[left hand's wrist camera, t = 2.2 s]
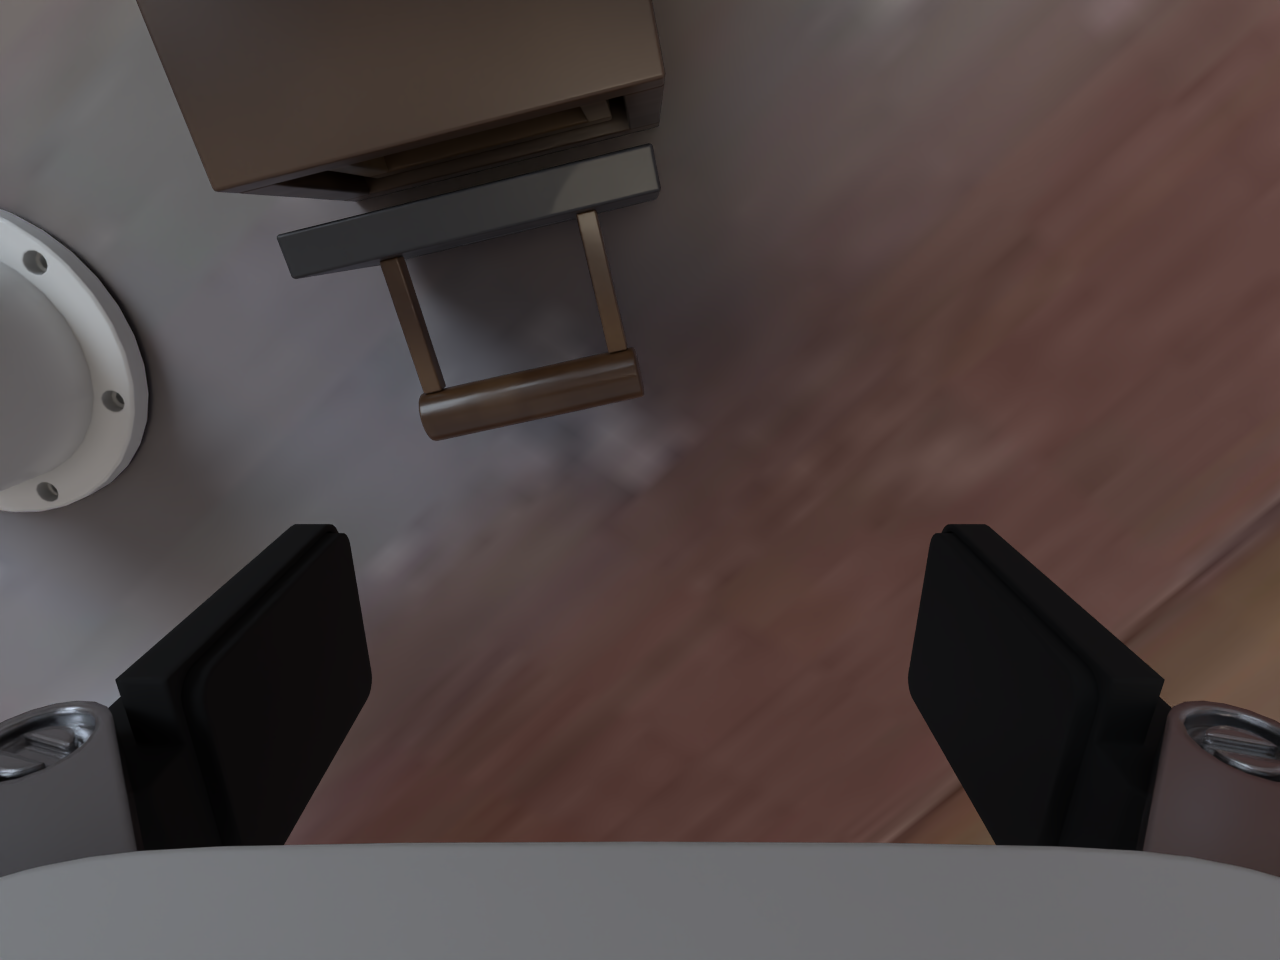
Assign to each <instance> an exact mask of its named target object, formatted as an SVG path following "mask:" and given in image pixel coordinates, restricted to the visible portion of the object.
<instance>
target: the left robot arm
mask: <svg viewBox="0 0 1280 960" xmlns="http://www.w3.org/2000/svg"><path fill="white" fill-rule="evenodd" d="M148 394H149V393H148V387H147V380H146V373H145V366H144V363H143V360H142V357H141V354H140V351H139V348H138V345H137V342H136V339H135V336H134V334H133V332H132V330H131V328H130V326H129V324H128V323H127V321H126V319H125V317H124V315H123V313H122V311H121V309H120V308H119V306H118V304H117V303H116V302H115V300H114V299H113V298H112V296H111V295H110V294H109V292H108V291H107V290H106V288H105V287H104V286H103V284H102V283H101V282H100V280H99V279H98V278H97V277H96V276H95V274H94V273H93V272H92V271H91V270H90V269H89V268H88V267H87V266H86V265H85V264H84V263H83V262H82V261H81V260H80V259H79V258H78V257H77V256H76V255H75V254H74V253H73V252H71V251H70V250H69V249H67V248H66V247H65V246H63V245H62V244H61V243H59V242H58V241H57V240H55V239H54V238H53V237H51V236H50V235H49V234H47V233H46V232H45V231H43V230H42V229H40V228H38V227H37V226H35V225H33V224H31V223H29V222H27V221H25V220H24V219H22V218H20V217H18V216H16V215H14V214H12V213H11V212H8V211H5V210H2V209H0V510H1V511H8V512H41V511H45V510H50V509H54V508H59V507H63V506H67V505H69V504H71V503H74V502H76V501H78V500H80V499H82V498H85V497H87V496H89V495H91V494H93V493H95V492H96V491H98V490H100V489H101V488H103V487H104V486H106V485H108V484H109V483H111V482H112V481H113V480H114V479H115V478H116V477H117V476H118V475H119V474H120V473H121V472H122V471H123V470H124V469H125V468H126V467H127V466H128V465H129V463H130V461H131V460H132V458H133V456H134V454H135V453H136V451H137V449H138V447H139V446H140V443H141V440H142V436H143V433H144V429H145V426H146V422H147V413H148ZM116 683H117V686H118V689H119V692H120V696H121V697H120V698H119V699H118V700H117V701H115V702H114V703H113V704H112V705H111V706H110V707H109V708H108V707H107V706H104V705H102V704H99V703H97V702H90V701H72V702H64V703H56V704H52V705H48V706H45V707H41V708H37V709H34V710H30V711H28V712H25V713H23V714H20V715H18V716H15V717H12V718H10V719H7V720H5V721H3V722H1V723H0V960H1280V723H1279V722H1277V721H1275V720H1273V719H1270V718H1268V717H1265V716H1262V715H1260V714H1257V713H1255V712H1252V711H1250V710H1246V709H1243V708H1239V707H1235V706H1232V705H1228V704H1224V703H1216V702H1208V701H1190V702H1183V703H1181V704H1178V705H1176V706H1173V707H1172V708H1171V707H1170V706H1169V705H1168V704H1167V703H1166V702H1165V701H1163V700H1162V699H1161V698H1160V697H1159V696H1160V692H1161V689H1162V686H1163V683H1164V679H1163V678H1162V677H1161V676H1160V675H1159V674H1158V673H1156V672H1155V671H1154V670H1153V669H1152V668H1151V667H1150V666H1148V665H1147V664H1146V663H1145V662H1144V661H1143V660H1142V659H1140V658H1139V657H1138V656H1137V655H1136V654H1135V653H1133V652H1132V651H1131V650H1130V649H1129V648H1128V647H1127V646H1125V645H1124V644H1123V643H1122V642H1121V641H1120V640H1119V639H1117V638H1116V637H1115V636H1114V635H1113V634H1112V633H1111V632H1109V631H1108V630H1107V629H1106V628H1105V627H1104V626H1103V625H1101V624H1100V623H1099V622H1098V621H1097V620H1096V619H1095V618H1093V617H1092V616H1091V615H1090V614H1089V613H1088V612H1087V611H1085V610H1084V609H1083V608H1082V607H1081V606H1080V605H1078V604H1077V603H1076V602H1075V601H1074V600H1073V599H1072V598H1070V597H1069V596H1068V595H1067V594H1066V593H1065V592H1064V591H1062V590H1061V589H1060V588H1059V587H1058V586H1057V585H1056V584H1054V583H1053V582H1052V581H1051V580H1050V579H1049V578H1048V577H1046V576H1045V575H1044V574H1043V573H1042V572H1041V571H1040V570H1038V569H1037V568H1036V567H1035V566H1034V565H1033V564H1031V563H1030V562H1029V561H1028V560H1027V559H1026V558H1025V557H1023V556H1022V555H1021V554H1020V553H1019V552H1018V551H1017V550H1015V549H1014V548H1013V547H1012V546H1011V545H1010V544H1009V543H1007V542H1006V541H1005V540H1004V539H1003V538H1002V537H1001V536H999V535H998V534H997V533H996V532H995V531H994V530H993V529H991V528H990V527H989V526H987V525H985V524H949V525H947V526H946V527H944V529H943V531H942V533H935V534H934V535H933V537H932V539H931V542H930V547H929V553H928V559H927V565H926V571H925V577H924V583H923V589H922V595H921V601H920V607H919V613H918V619H917V625H916V631H915V637H914V643H913V649H912V655H911V661H910V667H909V674H908V684H909V690H910V694H911V696H912V698H913V700H914V702H915V704H916V706H917V707H918V709H919V711H920V713H921V714H922V716H923V718H924V720H925V721H926V723H927V725H928V727H929V728H930V730H931V732H932V734H933V735H934V737H935V739H936V741H937V742H938V744H939V746H940V748H941V749H942V751H943V753H944V755H945V756H946V758H947V760H948V762H949V763H950V765H951V767H952V769H953V770H954V772H955V774H956V776H957V777H958V779H959V781H960V783H961V784H962V786H963V788H964V790H965V791H966V793H967V795H968V797H969V798H970V800H971V802H972V804H973V805H974V807H975V809H976V811H977V812H978V814H979V816H980V818H981V819H982V821H983V823H984V825H985V826H986V828H987V830H988V832H989V833H990V835H991V837H992V839H993V840H994V842H995V844H996V845H958V844H907V843H777V842H503V843H373V844H322V845H284V844H285V842H286V840H287V839H288V837H289V835H290V833H291V832H292V830H293V828H294V826H295V825H296V823H297V821H298V819H299V818H300V816H301V814H302V812H303V811H304V809H305V807H306V805H307V804H308V802H309V800H310V798H311V797H312V795H313V793H314V791H315V790H316V788H317V786H318V784H319V783H320V781H321V779H322V777H323V776H324V774H325V772H326V770H327V769H328V767H329V765H330V763H331V762H332V760H333V758H334V756H335V755H336V753H337V751H338V749H339V748H340V746H341V744H342V742H343V741H344V739H345V737H346V735H347V734H348V732H349V730H350V728H351V727H352V725H353V723H354V721H355V720H356V718H357V716H358V714H359V713H360V711H361V709H362V707H363V706H364V704H365V702H366V700H367V698H368V696H369V694H370V690H371V684H372V674H371V667H370V661H369V655H368V649H367V643H366V637H365V631H364V625H363V619H362V613H361V607H360V601H359V595H358V589H357V583H356V577H355V571H354V565H353V559H352V553H351V547H350V542H349V539H348V537H347V535H346V534H345V533H338V531H337V529H336V527H334V526H333V525H331V524H295V525H293V526H291V527H290V528H289V529H287V530H286V531H285V532H284V533H283V534H282V535H281V536H279V537H278V538H277V539H276V540H275V541H274V542H273V543H271V544H270V545H269V546H268V547H267V548H266V549H265V550H263V551H262V552H261V553H260V554H259V555H258V556H257V557H255V558H254V559H253V560H252V561H251V562H250V563H249V564H247V565H246V566H245V567H244V568H243V569H242V570H240V571H239V572H238V573H237V574H236V575H235V576H234V577H232V578H231V579H230V580H229V581H228V582H227V583H226V584H224V585H223V586H222V587H221V588H220V589H219V590H218V591H216V592H215V593H214V594H213V595H212V596H211V597H210V598H208V599H207V600H206V601H205V602H204V603H203V604H202V605H200V606H199V607H198V608H197V609H196V610H195V611H193V612H192V613H191V614H190V615H189V616H188V617H187V618H185V619H184V620H183V621H182V622H181V623H180V624H179V625H177V626H176V627H175V628H174V629H173V630H172V631H171V632H169V633H168V634H167V635H166V636H165V637H164V638H163V639H161V640H160V641H159V642H158V643H157V644H156V645H155V646H153V647H152V648H151V649H150V650H149V651H148V652H147V653H145V654H144V655H143V656H142V657H141V658H140V659H138V660H137V661H136V662H135V663H134V664H133V665H132V666H130V667H129V668H128V669H127V670H126V671H125V672H124V673H122V674H121V675H120V676H119V677H118V678H117V679H116Z"/></svg>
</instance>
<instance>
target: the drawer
mask: <svg viewBox="0 0 1280 960" xmlns="http://www.w3.org/2000/svg"><path fill="white" fill-rule="evenodd" d="M611 119H612V114H611V110H610V105H609V100H608V99H607V100H603V101H599V102H596V103H592V104H588V105H584V106H580V107H576V108H572V109H568V110H564V111H560V112H556V113H552V114H548V115H544V116H540V117H536V118H532V119H528V120H525V121H521V122H517V123H513V124H509V125H505V126H501V127H497V128H493V129H489V130H485V131H481V132H477V133H473V134H469V135H465V136H461V137H457V138H453V139H450V140H446V141H442V142H438V143H434V144H430V145H426V146H422V147H418V148H414V149H410V150H406V151H402V152H398V153H394V154H390V155H386V156H382V157H379V158H375V159H371V160H367V161H363V162H359V163H355V164H351V165H347V166H343V167H339V168H335V169H331V170H329V171H335V172H341V173H348V174H354V175H360V176H366V177H372V178H381V177H385V176H389V175H393V174H397V173H401V172H405V171H409V170H413V169H417V168H421V167H425V166H429V165H433V164H437V163H441V162H445V161H449V160H453V159H457V158H461V157H465V156H469V155H473V154H477V153H481V152H485V151H489V150H493V149H497V148H501V147H505V146H509V145H513V144H517V143H521V142H525V141H529V140H533V139H537V138H541V137H545V136H549V135H553V134H557V133H561V132H565V131H569V130H573V129H577V128H581V127H585V126H589V125H593V124H597V123H601V122H605V121H609V120H611ZM660 188H661V187H660V182H659V177H658V171H657V166H656V161H655V156H654V151H653V146H652V145H651V144H649V143H648V144H644V145H640V146H636V147H632V148H628V149H624V150H620V151H616V152H612V153H608V154H604V155H600V156H596V157H592V158H588V159H584V160H579V161H575V162H571V163H567V164H563V165H559V166H555V167H551V168H547V169H543V170H539V171H535V172H531V173H527V174H523V175H519V176H515V177H511V178H506V179H502V180H498V181H494V182H490V183H486V184H482V185H478V186H474V187H470V188H466V189H462V190H458V191H454V192H450V193H446V194H442V195H438V196H433V197H429V198H425V199H421V200H417V201H413V202H409V203H405V204H401V205H397V206H393V207H389V208H385V209H381V210H377V211H373V212H369V213H365V214H361V215H356V216H352V217H348V218H344V219H340V220H336V221H332V222H328V223H324V224H320V225H316V226H312V227H308V228H304V229H300V230H296V231H292V232H288V233H283V234H279V235H278V236H277V240H278V242H279V245H280V247H281V250H282V253H283V255H284V258H285V260H286V263H287V266H288V268H289V271H290V273H291V276H292V277H293V278H294V279H299V278H305V277H311V276H317V275H323V274H329V273H335V272H341V271H347V270H353V269H359V268H365V267H371V266H377V265H381V268H382V271H383V274H384V277H385V280H386V283H387V286H388V288H389V291H390V294H391V297H392V300H393V303H394V306H395V309H396V312H397V315H398V318H399V321H400V324H401V327H402V330H403V333H404V336H405V338H406V341H407V344H408V347H409V350H410V353H411V356H412V359H413V362H414V365H415V368H416V371H417V374H418V377H419V380H420V383H421V386H422V389H423V391H424V393H423V394H422V395H421V396H420V399H419V412H420V418H421V421H422V424H423V427H424V429H425V431H426V433H427V435H428V436H429V437H430V438H431V439H432V440H434V441H439V440H444V439H448V438H453V437H458V436H462V435H467V434H472V433H476V432H481V431H486V430H490V429H495V428H500V427H504V426H509V425H514V424H518V423H523V422H528V421H532V420H537V419H542V418H546V417H551V416H555V415H560V414H565V413H569V412H574V411H579V410H583V409H588V408H593V407H597V406H602V405H607V404H611V403H616V402H621V401H625V400H630V399H635V398H639V397H642V396H644V387H643V381H642V376H641V371H640V367H639V362H638V358H637V355H636V351H635V349H634V347H629V348H627V341H626V336H625V332H624V328H623V323H622V319H621V314H620V310H619V306H618V301H617V297H616V292H615V288H614V284H613V279H612V275H611V270H610V266H609V262H608V257H607V253H606V248H605V244H604V240H603V235H602V231H601V226H600V222H599V218H598V213H601V212H605V211H609V210H613V209H617V208H621V207H626V206H630V205H634V204H638V203H642V202H647V201H651V200H655V199H656V198H657V196H658V194H659V192H660ZM576 218H577V222H578V226H579V230H580V234H581V238H582V243H583V247H584V251H585V255H586V259H587V264H588V268H589V272H590V276H591V281H592V285H593V289H594V293H595V297H596V302H597V306H598V310H599V314H600V318H601V323H602V327H603V331H604V335H605V339H606V344H607V348H608V352H606V353H601V354H597V355H592V356H588V357H583V358H579V359H574V360H570V361H565V362H561V363H556V364H552V365H547V366H543V367H538V368H534V369H529V370H525V371H520V372H516V373H511V374H507V375H502V376H498V377H493V378H489V379H484V380H480V381H475V382H471V383H466V384H462V385H457V386H453V387H448V388H444V387H446V385H445V382H444V379H443V376H442V372H441V369H440V366H439V363H438V360H437V357H436V354H435V351H434V348H433V345H432V342H431V339H430V336H429V333H428V330H427V327H426V324H425V320H424V317H423V314H422V311H421V308H420V305H419V302H418V299H417V296H416V293H415V290H414V287H413V284H412V281H411V278H410V275H409V272H408V269H407V265H406V262H405V259H408V258H413V257H417V256H421V255H425V254H429V253H433V252H438V251H442V250H446V249H450V248H454V247H459V246H463V245H467V244H471V243H475V242H479V241H484V240H488V239H492V238H496V237H500V236H504V235H509V234H513V233H517V232H521V231H525V230H530V229H534V228H538V227H542V226H546V225H550V224H555V223H559V222H563V221H567V220H571V219H576ZM443 388H444V389H443Z"/></svg>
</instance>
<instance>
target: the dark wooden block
mask: <svg viewBox="0 0 1280 960" xmlns="http://www.w3.org/2000/svg"><path fill="white" fill-rule="evenodd" d="M136 1H137V4H138V6H139V9H140V11H141V14H142V16H143V18H144V21H145V23H146V26H147V28H148V31H149V33H150V36H151V38H152V41H153V43H154V45H155V48H156V50H157V53H158V55H159V58H160V60H161V63H162V65H163V68H164V70H165V72H166V75H167V77H168V80H169V82H170V85H171V87H172V90H173V92H174V95H175V97H176V99H177V102H178V104H179V107H180V109H181V112H182V114H183V117H184V119H185V122H186V124H187V126H188V129H189V131H190V134H191V136H192V139H193V141H194V144H195V146H196V149H197V151H198V154H199V156H200V158H201V161H202V163H203V166H204V168H205V171H206V173H207V176H208V178H209V181H210V183H211V185H212V188H213V189H214V191H217V192H228V193H241V194H256V195H271V196H285V197H300V198H315V199H329V200H344V201H360V200H364V199H368V198H372V197H376V196H380V195H384V194H388V193H392V192H396V191H400V190H404V189H408V188H412V187H416V186H420V185H424V184H428V183H432V182H436V181H440V180H444V179H448V178H452V177H456V176H460V175H464V174H468V173H472V172H476V171H480V170H484V169H489V168H493V167H497V166H501V165H505V164H509V163H513V162H517V161H521V160H525V159H529V158H533V157H537V156H541V155H545V154H549V153H553V152H557V151H561V150H565V149H569V148H573V147H577V146H581V145H585V144H589V143H593V142H597V141H601V140H605V139H609V138H613V137H617V136H621V135H625V134H629V133H633V132H637V131H641V130H645V129H650V128H654V127H657V126H659V118H660V111H661V104H662V96H663V89H664V79H665V69H664V64H663V58H662V53H661V47H660V42H659V36H658V31H657V25H656V20H655V14H654V9H653V3H652V0H136ZM607 99H608V100H609V105H610V110H611V114H612V119H611V120H609V121H605V122H601V123H597V124H593V125H589V126H585V127H581V128H577V129H573V130H569V131H565V132H561V133H557V134H553V135H549V136H545V137H541V138H537V139H533V140H529V141H525V142H521V143H517V144H513V145H509V146H505V147H501V148H497V149H493V150H489V151H485V152H481V153H477V154H473V155H469V156H465V157H461V158H457V159H453V160H449V161H445V162H441V163H437V164H433V165H429V166H425V167H421V168H417V169H413V170H409V171H405V172H401V173H397V174H393V175H389V176H385V177H381V178H372V177H366V176H360V175H354V174H348V173H341V172H335V171H329V170H331V169H335V168H339V167H343V166H347V165H351V164H355V163H359V162H363V161H367V160H371V159H375V158H379V157H382V156H386V155H390V154H394V153H398V152H402V151H406V150H410V149H414V148H418V147H422V146H426V145H430V144H434V143H438V142H442V141H446V140H450V139H453V138H457V137H461V136H465V135H469V134H473V133H477V132H481V131H485V130H489V129H493V128H497V127H501V126H505V125H509V124H513V123H517V122H521V121H525V120H528V119H532V118H536V117H540V116H544V115H548V114H552V113H556V112H560V111H564V110H568V109H572V108H576V107H580V106H584V105H588V104H592V103H596V102H599V101H603V100H607Z"/></svg>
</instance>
